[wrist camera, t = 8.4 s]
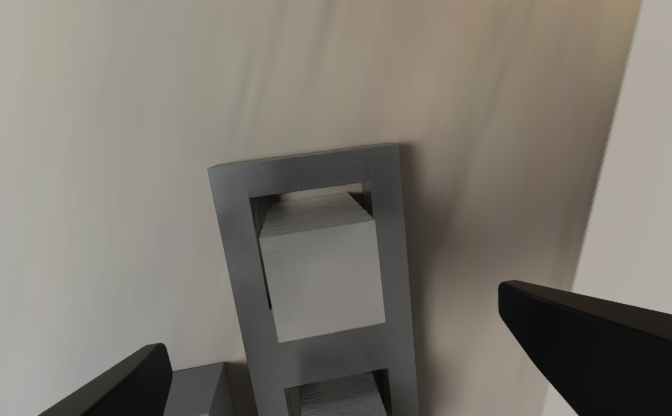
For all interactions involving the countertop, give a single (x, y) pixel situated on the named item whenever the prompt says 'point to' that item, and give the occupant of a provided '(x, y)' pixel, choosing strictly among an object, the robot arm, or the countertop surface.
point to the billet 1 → (321, 266)
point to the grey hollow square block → (200, 392)
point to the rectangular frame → (253, 293)
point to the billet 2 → (342, 397)
